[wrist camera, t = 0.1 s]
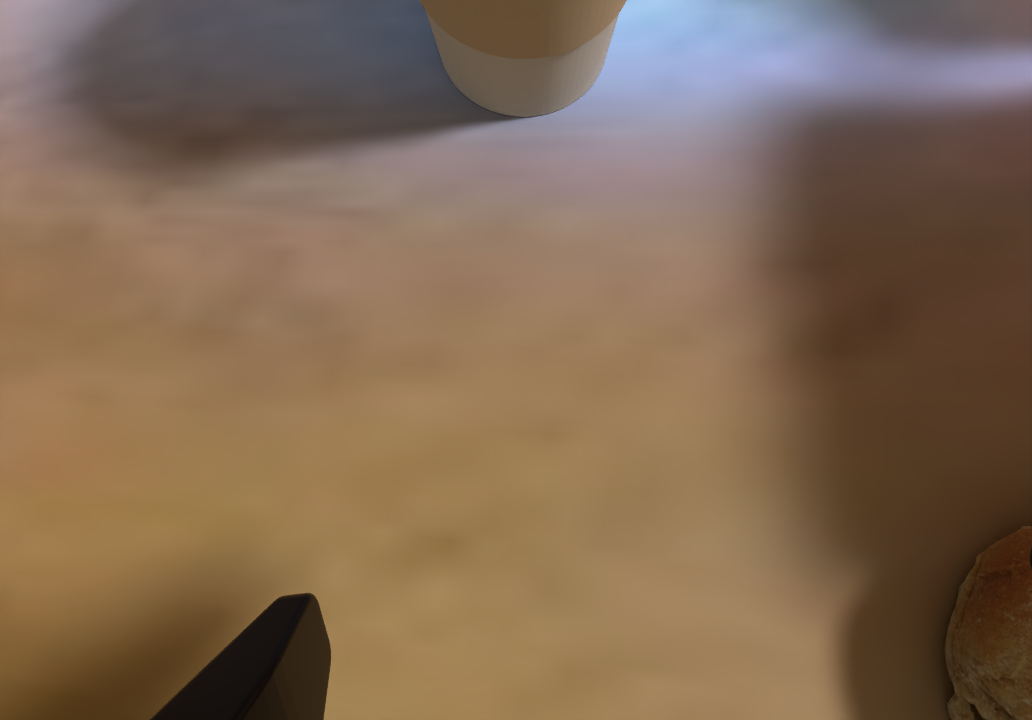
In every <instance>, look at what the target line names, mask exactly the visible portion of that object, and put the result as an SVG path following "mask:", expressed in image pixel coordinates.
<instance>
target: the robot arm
mask: <svg viewBox="0 0 1032 720" xmlns="http://www.w3.org/2000/svg"><path fill="white" fill-rule="evenodd" d="M1029 564H1030V568H1031V571H1032V544H1031V549H1030V553H1029ZM330 665H331V648H330V642H329V638H328V635H327V631H326V628H325V624H324V621H323V617H322V614H321V610H320V607H319V603H318V601H317V599H316V597H315V596H314V595H313V594H311V593H302V594H294V595H286V596H282V597H279V598H278V599H276V600H275V601H274V602H273V603H272V604H271V605H270V606H269V607H268V608H267V609H265V610H264V611H263V612H262V613H261V614H260V615H259V616H258V617H257V618H256V619H255V620H254V621H253V622H252V623H251V624H250V625H249V626H248V627H247V628H246V629H244V630H243V631H242V632H241V633H240V634H239V635H238V636H237V637H236V638H235V639H234V640H233V641H232V642H231V643H230V644H229V645H228V646H227V647H226V648H225V649H223V650H222V651H221V652H220V653H219V654H218V655H217V656H216V657H215V658H214V659H213V660H212V661H211V662H210V663H209V664H208V665H207V666H206V667H205V668H203V669H202V670H201V671H200V672H199V673H198V674H197V675H196V676H195V677H194V678H193V679H192V680H191V681H190V682H189V683H188V684H187V685H186V686H185V687H184V688H182V689H181V690H180V691H179V692H178V693H177V694H176V695H175V696H174V697H173V698H172V699H171V700H170V701H169V702H168V703H167V704H166V705H165V706H164V707H163V708H161V709H160V710H159V711H158V712H157V713H156V714H155V715H154V716H153V717H152V718H151V719H150V720H323V718H324V711H325V703H326V696H327V688H328V680H329V673H330Z"/></svg>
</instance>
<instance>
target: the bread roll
mask: <svg viewBox="0 0 1032 720" xmlns="http://www.w3.org/2000/svg"><path fill="white" fill-rule="evenodd" d="M1031 544H1032V526H1021V528H1020V530H1018V531H1016V532H1013V533H1011V534H1010V535H1008V536H1006V537H1005V538H1003V539H1001V540H999V541H998V542H996V543H994V544H993V545H991V546H990V547H989V548H987V549H986V550H985V551H983V552H982V553H981V554H979V555H978V556H977V558H976V563H975V565H974V567H973V568H972V570H971V571H969V573H968V576H967V577H966V579H965V581H964V582H963V583H962V584H961V585H960V586H959V587H958V588H959V594H958V598H957V602H956V606H955V609H954V611H953V613H952V616H951V620H950V623H949V627H948V631H947V637H946V644H945V658H946V665H947V669H948V673H949V677H950V680H951V682H952V684H953V686H954V690H955V693H954V695H953V697H952V698H951V699H950V700H949V702H948V703H946V707H947V710H948V713H949V716H950V718H951V720H1032V571H1031V568H1030V564H1029V553H1030V549H1031Z"/></svg>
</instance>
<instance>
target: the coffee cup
mask: <svg viewBox="0 0 1032 720" xmlns="http://www.w3.org/2000/svg"><path fill="white" fill-rule="evenodd" d="M420 2H421V4H422V6H423V7H424V9H425V10H426V13H427V16H428V20H429V23H430V26H431V29H432V32H433V35H434V38H435V41H436V44H437V47H438V51H439V54H440V57H441V60H442V63H443V66H444V68H445V70H446V72H447V74H448V76H449V78H450V79H451V81H452V82H453V83H454V85H455V86H456V87H457V88H458V89H459V90H460V91H461V92H462V93H463V94H464V95H465V96H466V97H467V98H469V99H470V100H471V101H473V102H474V103H476V104H478V105H480V106H481V107H483V108H485V109H488V110H490V111H493V112H496V113H499V114H503V115H508V116H516V117H533V116H540V115H545V114H549V113H553V112H555V111H558V110H560V109H563V108H565V107H567V106H569V105H570V104H572V103H574V102H575V101H576V100H578V99H579V98H580V97H582V96H583V95H584V94H585V93H586V92H587V91H588V90H589V89H590V87H591V86H592V85H593V84H594V82H595V81H596V79H597V78H598V76H599V74H600V72H601V70H602V67H603V64H604V61H605V58H606V55H607V51H608V48H609V45H610V41H611V38H612V35H613V31H614V28H615V25H616V21H617V18H618V15H619V12H620V11H621V9H622V8H623V6H624V4H625V2H626V0H420Z"/></svg>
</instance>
